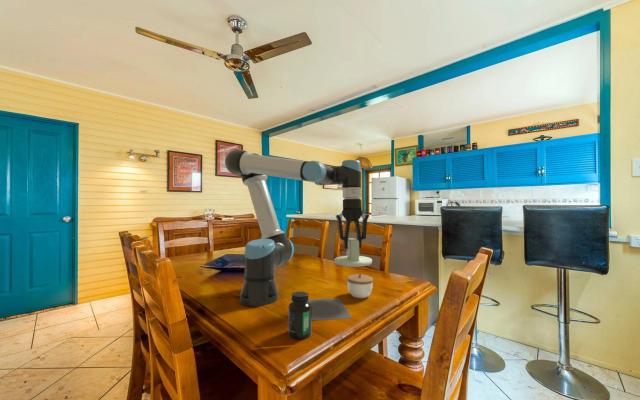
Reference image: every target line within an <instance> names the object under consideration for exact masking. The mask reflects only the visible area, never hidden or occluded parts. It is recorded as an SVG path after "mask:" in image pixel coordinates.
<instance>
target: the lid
mask: <svg viewBox="0 0 640 400" xmlns="http://www.w3.org/2000/svg"><path fill="white" fill-rule="evenodd" d="M348 241H350V258H348V257H347V255H341V256H337V257H335V258H333V261H334V265H337V266H341V267H347V268H348V267H349V268H355V267H356V268H357V267H366V266H370V265H372V264H373V259H372V258H371V257H368V256H364V255H360V249H359V240H358V239H357V238H355V237H351V238H350V237H348Z"/></svg>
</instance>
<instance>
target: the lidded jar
mask: <svg viewBox="0 0 640 400" xmlns="http://www.w3.org/2000/svg"><path fill="white" fill-rule="evenodd" d="M346 283H347V289H348V292H349V294H350V295H351V297H354V298H357V299H365V298H368V297H369V296H370V295H371V293H372V291H373V286H374V284H373V283H374V278H373V277H372V276H370V275H366V274H362V273H358V274H357V273H356V274H350V275H348V276H347V277H346Z"/></svg>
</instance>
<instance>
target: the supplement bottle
mask: <svg viewBox="0 0 640 400" xmlns="http://www.w3.org/2000/svg"><path fill="white" fill-rule="evenodd" d="M308 300H310V299H309V292H307V291H301V290H299V291H298V290H297V291H293V292H292V294H291V302H290V303H289V305H288V308H287V311H288V313H287V315H288V316H287V320H288V321H287V331H288V332H287V333H288V337H289V338H290V339H293V340H296V341H297V340H298V341H302V340H306V339H309V338H310V337H311V336H312V330H313V328H312V306H311V304H310V303H309V302H308Z"/></svg>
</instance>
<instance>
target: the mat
mask: <svg viewBox="0 0 640 400" xmlns="http://www.w3.org/2000/svg"><path fill="white" fill-rule="evenodd" d="M308 302H309V303H310V304H311V306H312V321H327V320H329V321H330V320H342V319H353V318H352V316H351V314H350V312H349V310H348V309H347V307H346V306H345V304H344V303H343V301H342V299H341V298H340V297H338V298H337V297H336V298H319V299H318V298H317V299H309V300H308Z"/></svg>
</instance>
